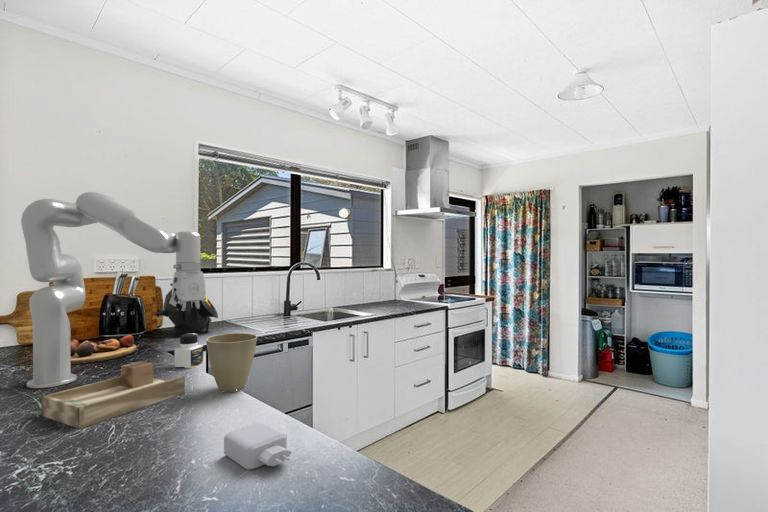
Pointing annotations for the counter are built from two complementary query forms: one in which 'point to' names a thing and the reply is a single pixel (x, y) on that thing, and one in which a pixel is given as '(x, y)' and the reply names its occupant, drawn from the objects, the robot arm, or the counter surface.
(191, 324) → the cauldron
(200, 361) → the medicine bottle
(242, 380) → the plant pot
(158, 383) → the box
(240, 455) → the charger
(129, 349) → the wooden plate with food
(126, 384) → the walnut block
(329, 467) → the counter surface
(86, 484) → the counter surface
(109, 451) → the counter surface
